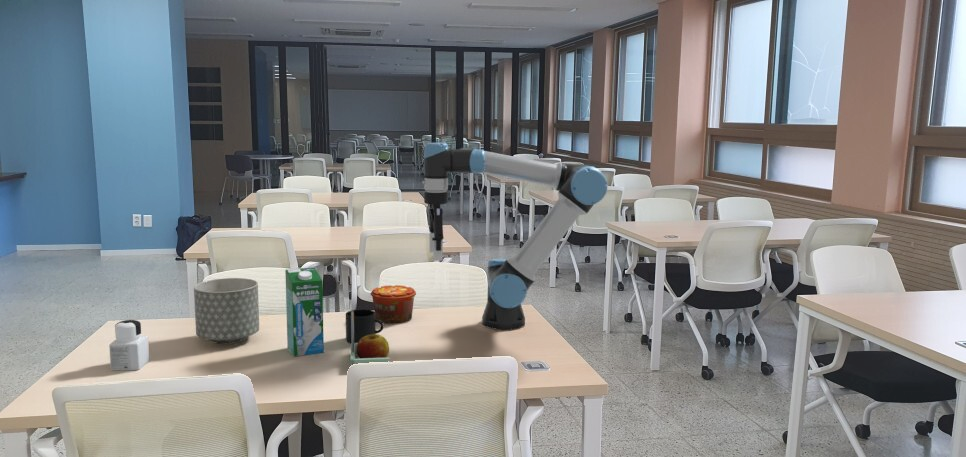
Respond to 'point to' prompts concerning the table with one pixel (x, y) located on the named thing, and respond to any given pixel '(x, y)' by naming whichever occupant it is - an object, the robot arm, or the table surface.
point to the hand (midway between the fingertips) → (435, 256)
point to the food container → (393, 303)
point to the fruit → (372, 347)
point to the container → (129, 347)
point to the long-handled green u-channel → (354, 349)
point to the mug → (362, 324)
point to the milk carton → (304, 311)
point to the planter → (226, 309)
